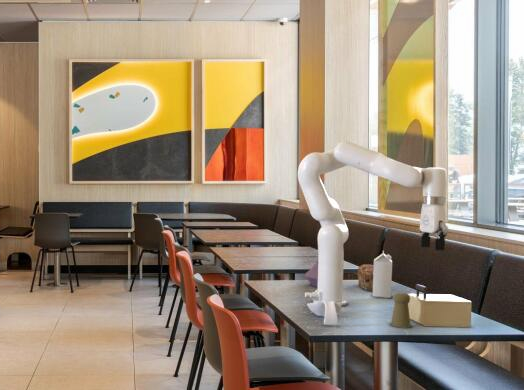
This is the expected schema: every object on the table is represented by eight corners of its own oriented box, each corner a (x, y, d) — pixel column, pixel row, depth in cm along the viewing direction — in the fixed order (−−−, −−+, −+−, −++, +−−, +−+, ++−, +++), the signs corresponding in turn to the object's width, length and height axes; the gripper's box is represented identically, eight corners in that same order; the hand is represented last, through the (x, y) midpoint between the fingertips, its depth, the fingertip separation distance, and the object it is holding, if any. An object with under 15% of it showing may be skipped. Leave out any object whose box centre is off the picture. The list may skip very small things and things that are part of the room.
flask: (308, 281, 298) (310, 239, 297) (344, 285, 290) (345, 242, 289) (298, 286, 284) (300, 242, 283) (336, 290, 275) (337, 245, 275)
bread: (357, 284, 293) (357, 263, 293) (380, 285, 291) (381, 264, 291) (364, 291, 275) (365, 268, 275) (389, 292, 273) (390, 269, 273)
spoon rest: (304, 310, 231) (305, 291, 231) (337, 312, 230) (338, 292, 229) (313, 325, 208) (314, 304, 208) (350, 327, 206) (351, 305, 206)
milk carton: (372, 296, 262) (374, 251, 262) (372, 294, 269) (374, 250, 268) (390, 298, 260) (392, 252, 259) (390, 295, 266) (392, 251, 266)
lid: (423, 303, 210) (424, 288, 210) (406, 295, 223) (406, 282, 223) (471, 303, 211) (472, 289, 211) (451, 296, 223) (452, 283, 223)
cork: (412, 328, 207) (413, 295, 207) (392, 326, 208) (394, 294, 208) (408, 324, 213) (409, 292, 213) (389, 322, 214) (390, 291, 214)
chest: (425, 326, 211) (425, 303, 210) (407, 317, 223) (408, 296, 223) (470, 327, 211) (471, 304, 211) (451, 318, 224) (451, 296, 223)
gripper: (412, 200, 236) (410, 245, 236) (436, 202, 219) (435, 251, 219) (431, 200, 236) (429, 246, 237) (457, 202, 219) (455, 251, 220)
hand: (432, 248), depth 228 cm, fingers open, 9 cm apart
